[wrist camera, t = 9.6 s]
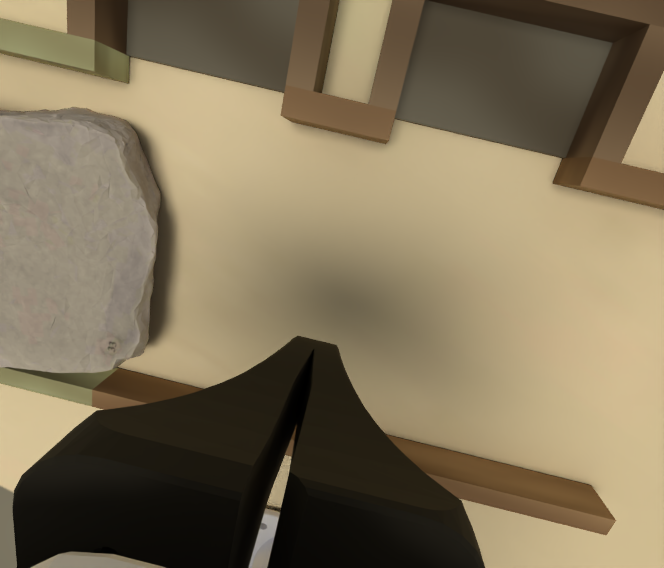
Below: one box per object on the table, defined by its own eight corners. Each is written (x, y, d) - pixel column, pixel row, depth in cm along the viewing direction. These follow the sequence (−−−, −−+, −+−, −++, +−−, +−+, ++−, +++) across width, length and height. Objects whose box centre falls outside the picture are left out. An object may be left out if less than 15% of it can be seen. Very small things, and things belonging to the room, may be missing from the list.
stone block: (170, 112, 17) (-66, 101, 16) (128, 100, 13) (-203, 83, 12) (194, 334, 21) (8, 338, 20) (169, 384, 17) (-72, 392, 16)
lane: (582, 499, 19) (606, 535, 18) (-74, 335, 20) (-119, 353, 18) (846, 63, 13) (929, 45, 11) (-154, -164, 13) (-240, -219, 11)
